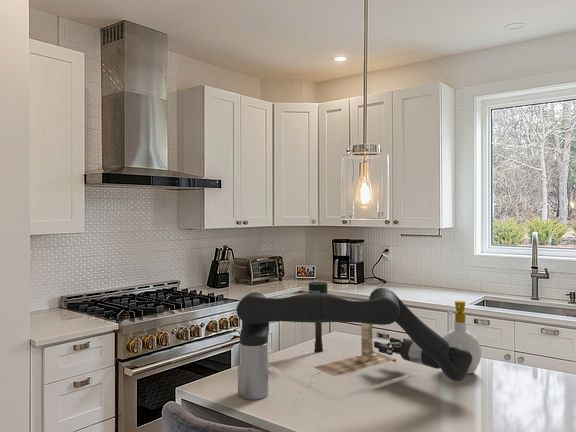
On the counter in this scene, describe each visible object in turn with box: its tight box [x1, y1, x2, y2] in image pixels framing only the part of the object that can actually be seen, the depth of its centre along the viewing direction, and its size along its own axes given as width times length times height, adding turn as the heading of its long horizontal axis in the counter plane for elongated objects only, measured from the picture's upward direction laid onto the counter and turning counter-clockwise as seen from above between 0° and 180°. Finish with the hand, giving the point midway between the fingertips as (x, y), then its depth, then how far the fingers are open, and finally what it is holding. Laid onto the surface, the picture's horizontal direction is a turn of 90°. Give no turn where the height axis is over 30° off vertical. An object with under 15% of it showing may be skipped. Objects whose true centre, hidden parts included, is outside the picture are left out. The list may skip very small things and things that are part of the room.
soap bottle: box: [442, 300, 482, 375], centre depth 176 cm, size 14×9×26 cm, turn 66°
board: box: [313, 351, 397, 377], centre depth 183 cm, size 32×12×2 cm, turn 125°
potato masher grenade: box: [308, 281, 329, 354], centre depth 200 cm, size 8×9×30 cm
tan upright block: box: [356, 323, 377, 363], centre depth 187 cm, size 7×4×15 cm, turn 125°
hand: (382, 342), depth 180 cm, fingers open, 8 cm apart
